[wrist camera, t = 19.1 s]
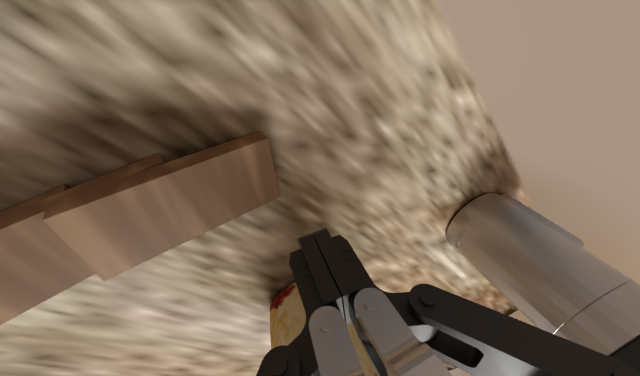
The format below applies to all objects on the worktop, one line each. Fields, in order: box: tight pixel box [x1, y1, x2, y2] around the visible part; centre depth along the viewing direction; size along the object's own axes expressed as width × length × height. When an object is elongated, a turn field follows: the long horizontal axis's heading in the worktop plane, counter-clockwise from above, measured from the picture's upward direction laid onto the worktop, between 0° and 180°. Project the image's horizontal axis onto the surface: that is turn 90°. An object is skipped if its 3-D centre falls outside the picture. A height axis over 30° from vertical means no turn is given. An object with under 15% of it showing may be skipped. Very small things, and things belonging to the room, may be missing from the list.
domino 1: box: [0, 153, 164, 325], centre depth 15 cm, size 2×5×12 cm
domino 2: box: [43, 131, 281, 281], centre depth 17 cm, size 2×5×12 cm
